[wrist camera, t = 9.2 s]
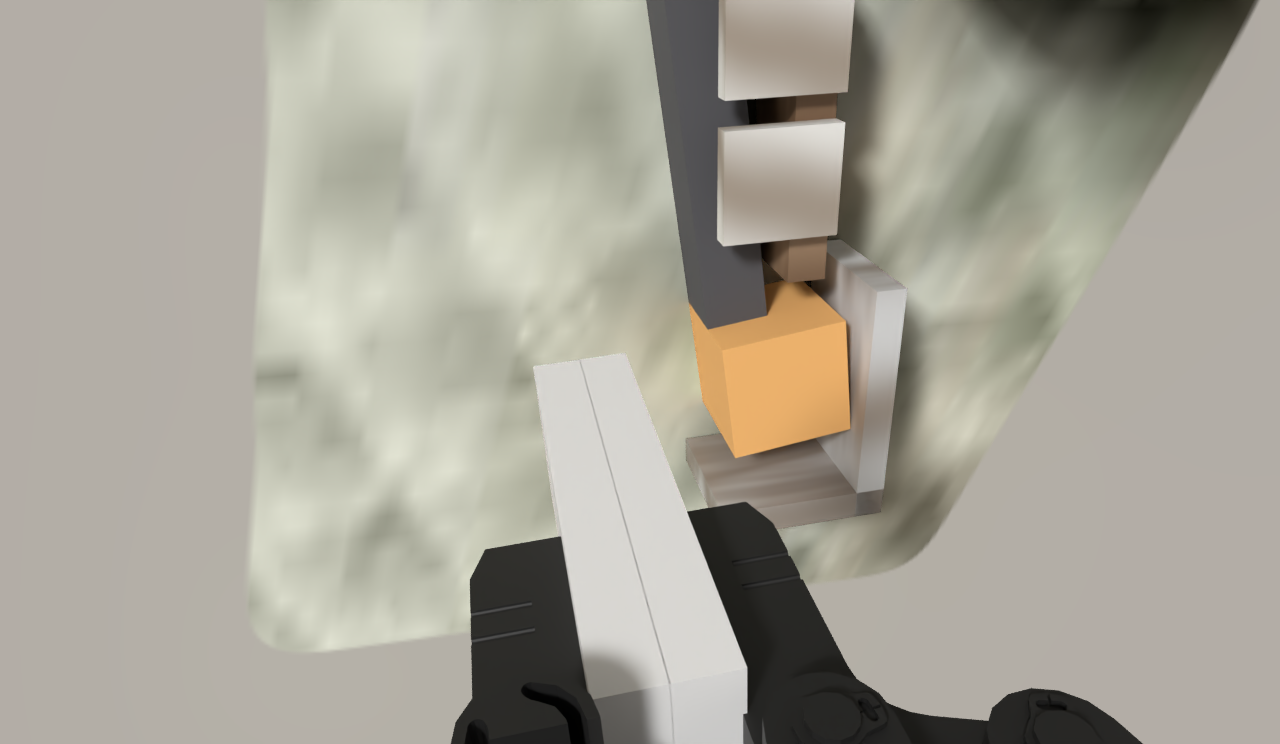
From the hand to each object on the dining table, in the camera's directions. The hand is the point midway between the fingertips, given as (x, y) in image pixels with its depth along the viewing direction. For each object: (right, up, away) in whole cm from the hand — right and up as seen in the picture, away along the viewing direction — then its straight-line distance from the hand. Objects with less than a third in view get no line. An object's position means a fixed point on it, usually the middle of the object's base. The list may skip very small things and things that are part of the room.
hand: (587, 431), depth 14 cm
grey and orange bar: (+5, +9, +20) cm, 23 cm away
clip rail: (+6, +7, +21) cm, 23 cm away
